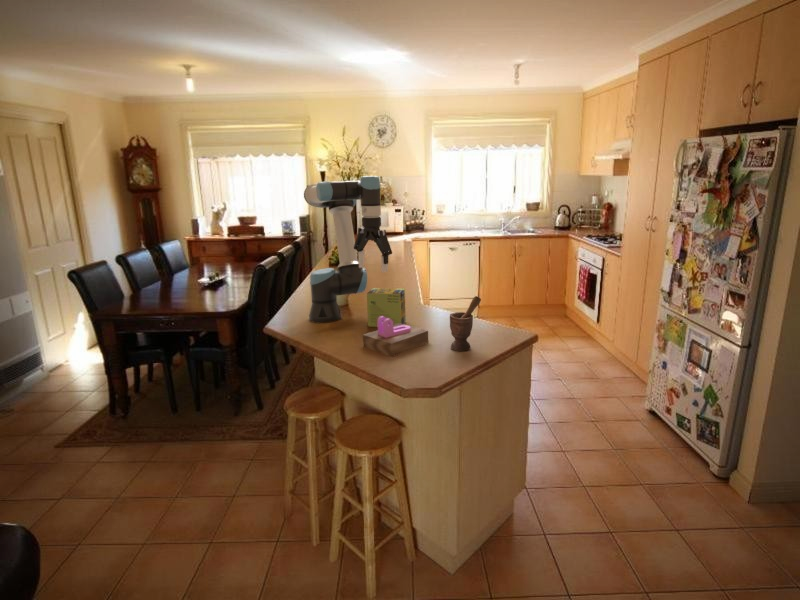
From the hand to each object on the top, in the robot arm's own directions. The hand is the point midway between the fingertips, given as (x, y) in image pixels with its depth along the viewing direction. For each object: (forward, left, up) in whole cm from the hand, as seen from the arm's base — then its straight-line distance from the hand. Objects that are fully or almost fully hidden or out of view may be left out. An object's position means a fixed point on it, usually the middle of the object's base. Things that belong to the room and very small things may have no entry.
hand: (373, 269), depth 192 cm
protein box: (-8, +14, -28) cm, 33 cm away
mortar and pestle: (+37, +12, -28) cm, 48 cm away
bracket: (+15, -3, -23) cm, 28 cm away
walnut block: (+15, -3, -28) cm, 32 cm away
